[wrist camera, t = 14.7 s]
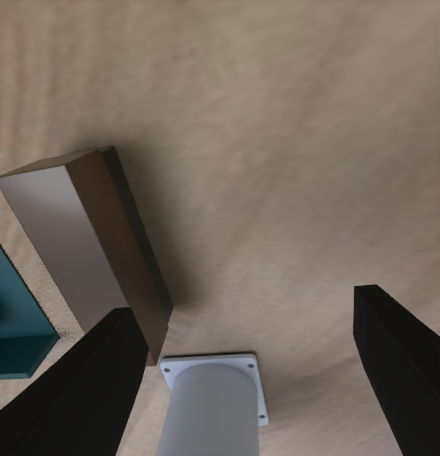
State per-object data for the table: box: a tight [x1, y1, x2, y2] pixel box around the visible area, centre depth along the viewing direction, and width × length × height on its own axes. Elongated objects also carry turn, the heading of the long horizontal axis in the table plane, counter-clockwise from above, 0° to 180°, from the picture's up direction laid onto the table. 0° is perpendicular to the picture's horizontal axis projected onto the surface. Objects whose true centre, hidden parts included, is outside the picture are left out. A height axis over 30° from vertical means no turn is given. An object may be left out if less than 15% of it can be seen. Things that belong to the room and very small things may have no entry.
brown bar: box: [0, 146, 173, 366], centre depth 16 cm, size 12×3×5 cm, turn 11°
